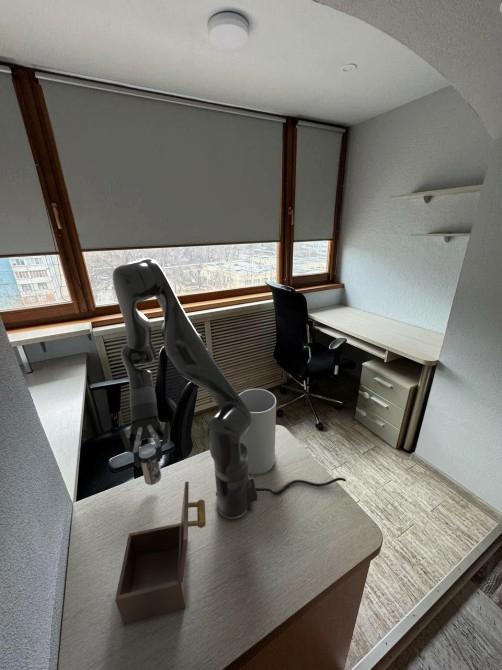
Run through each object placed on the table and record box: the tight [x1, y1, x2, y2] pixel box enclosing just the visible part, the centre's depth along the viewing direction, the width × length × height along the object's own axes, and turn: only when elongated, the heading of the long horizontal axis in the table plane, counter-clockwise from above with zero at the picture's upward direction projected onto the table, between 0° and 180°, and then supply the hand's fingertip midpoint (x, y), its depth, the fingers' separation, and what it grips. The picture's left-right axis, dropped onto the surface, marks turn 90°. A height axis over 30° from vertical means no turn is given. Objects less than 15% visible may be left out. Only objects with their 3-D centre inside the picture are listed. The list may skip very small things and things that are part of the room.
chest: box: [114, 522, 187, 624], centre depth 60 cm, size 12×12×9 cm
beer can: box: [139, 443, 163, 486], centre depth 79 cm, size 5×5×12 cm
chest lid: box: [179, 481, 207, 583], centre depth 58 cm, size 13×12×4 cm
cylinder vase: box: [238, 388, 277, 475], centre depth 88 cm, size 12×12×25 cm
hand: (149, 463), depth 76 cm, fingers closed on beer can, 4 cm apart
